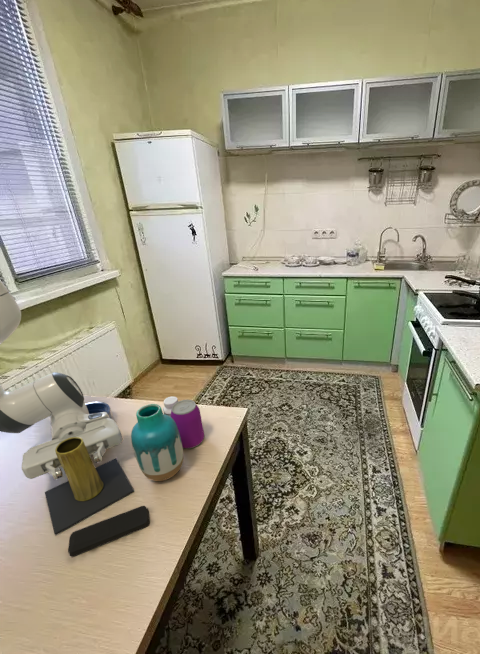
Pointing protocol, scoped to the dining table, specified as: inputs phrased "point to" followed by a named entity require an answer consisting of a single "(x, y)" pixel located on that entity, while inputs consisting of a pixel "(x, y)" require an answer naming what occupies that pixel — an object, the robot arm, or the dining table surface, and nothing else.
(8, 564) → the dining table surface
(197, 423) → the beverage can
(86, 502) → the mat
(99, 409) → the bowl
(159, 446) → the vase
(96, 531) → the remote control
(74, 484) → the vase
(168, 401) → the pill bottle
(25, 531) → the dining table surface
